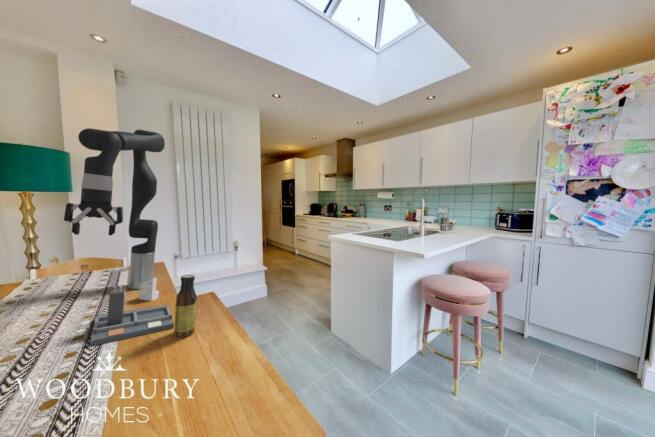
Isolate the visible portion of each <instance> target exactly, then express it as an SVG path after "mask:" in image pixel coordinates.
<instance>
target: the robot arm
mask: <svg viewBox="0 0 655 437" xmlns="http://www.w3.org/2000/svg"><path fill="white" fill-rule="evenodd" d="M77 138H78V141H79V143H80V144H81V145H82V146H83V147H84V148H86V149H88V150H92V151H97V152H98V151H99V152H100V154H99V155H96V156H88V157H86V158H85V159H84V167H83V176H82V180H81V186H80V187H81V193H80V202H79V203H72V202H67V203H66V204H65V209H64V210H65V212H64V216H63V220H64V221H65V222H68V223H71V233H73V235H75V236H77V235H80V230H81V221H82V220H83V219H85V218H86V217H87V218H97V219H100V218H101V219H102V218H103V219H104V220H105V221H107V222H108V224H109V225H108V236H113V234H116V228H117V225H118V224H122V223H123V222H124V214H123V213H124V211H123V210H124V208H123V206H112V198H113V196H112V195H113V187H114V184H113V181H114V180H113V171H114V165H115V163H116V160H117V157H118V156H119V154H120V152H121V151H122V152H123V151H132V154H133V156H132V157H133V168H132V169H133V170H132V171H133V173H132V182H131V183H132V185H131V209H130V216H129V222H128V235H129V237H131V238H133V239H147V240H146V241H145V242H142V243H139V244H135V245H133V246H132V247H131V250H130V263H129V274H128V275H129V276H128V284H127V285H128V289H131V290H140V285H141V284H142V283H144V282H146V281H149V280H151V279H153V278H154V267H155V257H156V256H155V255H156V254H155V253H156V244H157V235H158V231H159V230H158V229H159V224H158V221H157V220H154V219H142V218H141V214H142V213H143V210H144V209H145V208H146V206H147V205H148V204H149V203H150V202H151V201H152V200H153V199H154V197H155V196H156V194H157V189H158V188H157V186H158V180H157V177H156V175H155V174H154V172H153V170H152V169H151V167H150V165H149V163H148V161H147V155H146V154H147V153H146V152H152V153H161V152H163V150H165V149H164V148H165V147H166V146H165V145H166V142H165V138H164V136H163V135H162V134H160V133H159V132H155V131H149V130H145V129H144V130H143V129H136V130H134V132H128V131H119V130H117V131H116V130H111V131H109V130H103V129H99V128H98V129H97V128H83V129H82V130H80V132H79V134H78V136H77ZM77 208H78V209H79V210H80V211H81V212H80V213H79V214H78V215H77V216H76V217H75V218H74V217H73V216H74V210H75V211H76V210H77ZM112 211H114V213H116V220H115V219H114V218H113V216H112V215H111V214H110V213H111V212H112Z"/></svg>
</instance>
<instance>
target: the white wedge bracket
mask: <svg viewBox="0 0 655 437" xmlns="http://www.w3.org/2000/svg"><path fill="white" fill-rule="evenodd" d="M157 280H158V278H157V276H156V277H153V279H151V280H149V281H146V282H144V283H142V284H141V285H140V289H139V297H138V298H139V300H141V301H149V302H152V301H154V300H157V299H159V297H160V296H159V294H160V291H159V290H157Z"/></svg>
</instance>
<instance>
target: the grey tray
mask: <svg viewBox="0 0 655 437" xmlns="http://www.w3.org/2000/svg"><path fill="white" fill-rule="evenodd" d="M107 320H108V313H105V314H99V315H95V317H94V322H93V327H92V332H91V336H90V337H91V338H90V342H89V344H90V346H89V347H92V346H98V345H102V344H107V343H111V342H115V341H116V342H117V341H120V340H124V339H125V340H126V339H129V338H130V339H131V338H135V337H138V336H143V335H148V334H154V333H157V332H162V331H166V330H167V331H168V330H172V329H174V324H175V322H174V321H173V314H172V312H171V309H170V308H169V305H167V304H163V305H162V304H161V305H156V306H149V307H142V308H136V309H130V310H124V315H123V322H122V324H118V325H113V326H107Z"/></svg>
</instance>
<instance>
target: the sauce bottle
mask: <svg viewBox="0 0 655 437" xmlns="http://www.w3.org/2000/svg"><path fill="white" fill-rule="evenodd" d="M180 281H181V283H180V285H181V286H180V290H179V291H178V293H177V295H176V297H175V298H176V299H175V310H174V311H175V312H174V326H173V333H174V335H175V336H176V337H179V338H180V337H181V338H183V337H187V336H190V335H192V334H194V332H195V330H196V323H197V320H196V319H197V303H198V298H197V294H196V291H195V287H194V284H195V275H194V274H189V273H188V274H183V275H181V276H180Z"/></svg>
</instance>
